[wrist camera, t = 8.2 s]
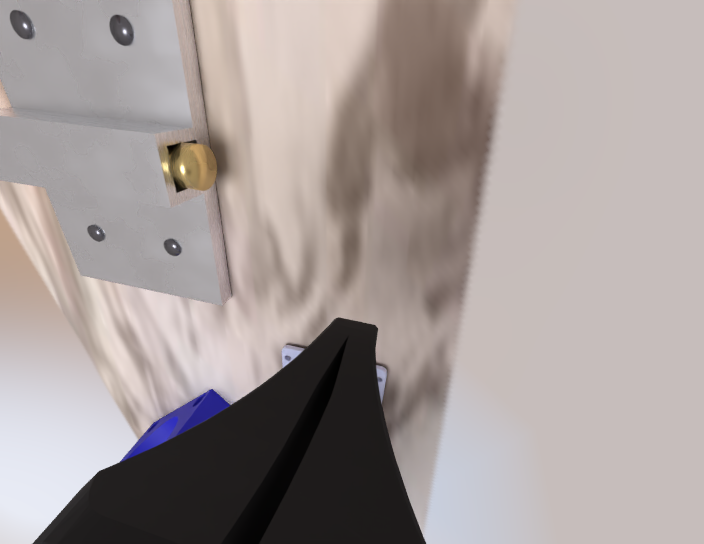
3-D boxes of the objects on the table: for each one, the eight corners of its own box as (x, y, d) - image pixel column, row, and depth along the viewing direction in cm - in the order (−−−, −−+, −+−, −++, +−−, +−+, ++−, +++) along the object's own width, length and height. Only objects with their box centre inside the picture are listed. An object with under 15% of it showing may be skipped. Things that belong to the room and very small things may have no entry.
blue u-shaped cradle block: (185, 446, 37) (145, 502, 32) (155, 421, 36) (107, 475, 31) (247, 417, 31) (209, 481, 26) (213, 387, 30) (166, 447, 25)
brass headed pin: (213, 141, 17) (184, 148, 15) (219, 184, 19) (193, 196, 17) (19, 118, 20) (-28, 121, 18) (35, 158, 21) (-7, 165, 19)
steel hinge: (177, -77, 14) (97, -126, 11) (231, 296, 24) (197, 329, 21) (-35, -74, 16) (-157, -116, 13) (94, 267, 26) (44, 294, 23)
